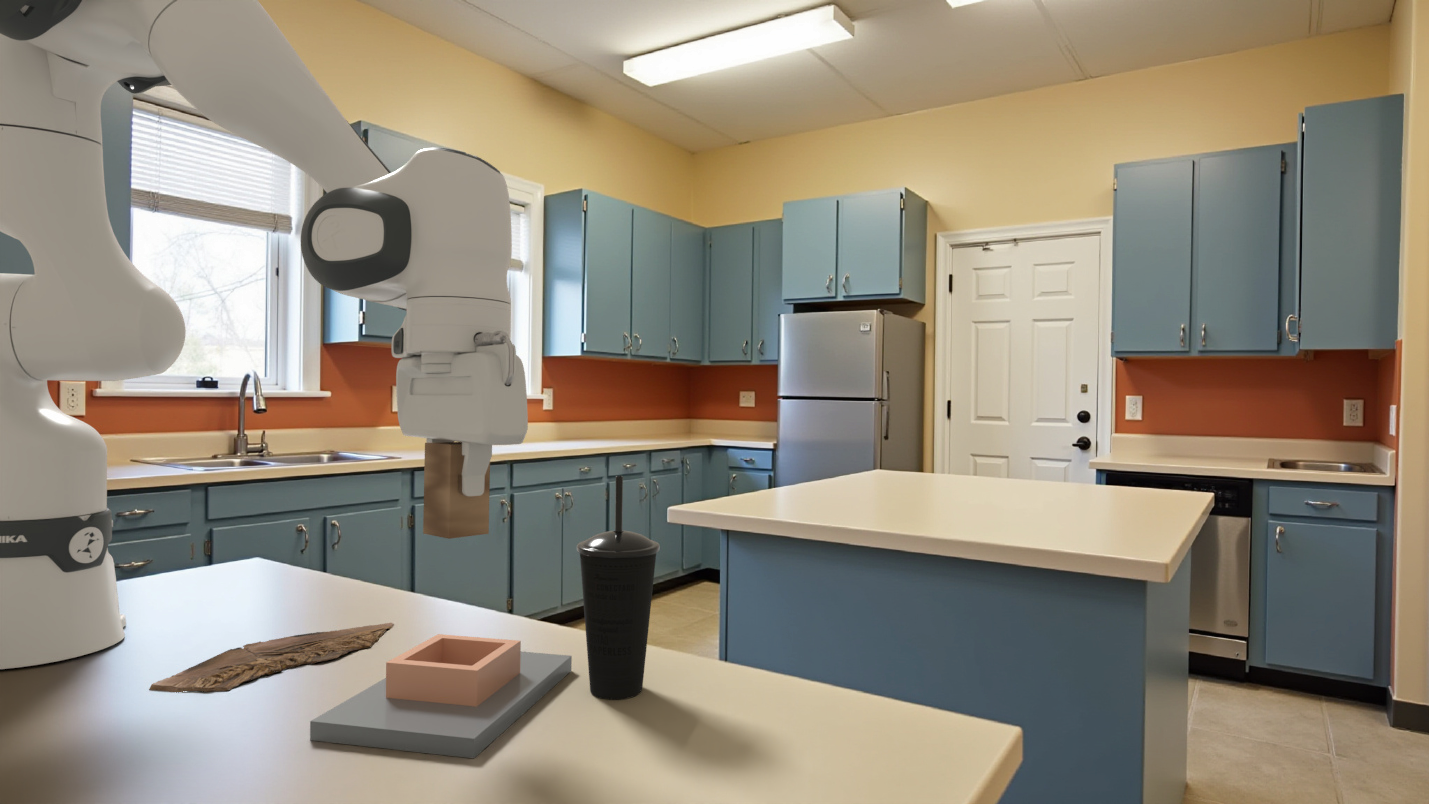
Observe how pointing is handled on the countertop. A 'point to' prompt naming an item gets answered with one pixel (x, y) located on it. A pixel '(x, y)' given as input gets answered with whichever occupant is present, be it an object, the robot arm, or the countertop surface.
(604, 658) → the drinking cup
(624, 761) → the countertop surface
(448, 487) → the brown wooden block
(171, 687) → the wooden fragment
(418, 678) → the stand
